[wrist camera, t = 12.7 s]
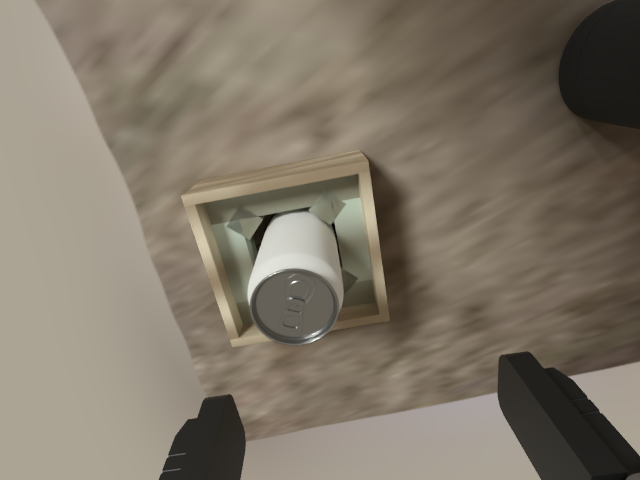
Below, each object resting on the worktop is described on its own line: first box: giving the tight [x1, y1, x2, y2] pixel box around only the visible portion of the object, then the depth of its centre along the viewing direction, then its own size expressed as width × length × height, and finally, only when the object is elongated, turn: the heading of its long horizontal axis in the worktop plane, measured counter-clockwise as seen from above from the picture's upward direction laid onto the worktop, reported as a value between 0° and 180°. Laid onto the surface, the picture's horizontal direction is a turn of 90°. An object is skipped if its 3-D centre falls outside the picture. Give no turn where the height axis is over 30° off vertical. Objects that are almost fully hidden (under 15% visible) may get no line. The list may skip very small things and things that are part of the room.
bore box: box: [181, 150, 390, 347], centre depth 32 cm, size 14×14×5 cm
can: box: [247, 207, 344, 346], centre depth 28 cm, size 6×6×12 cm
